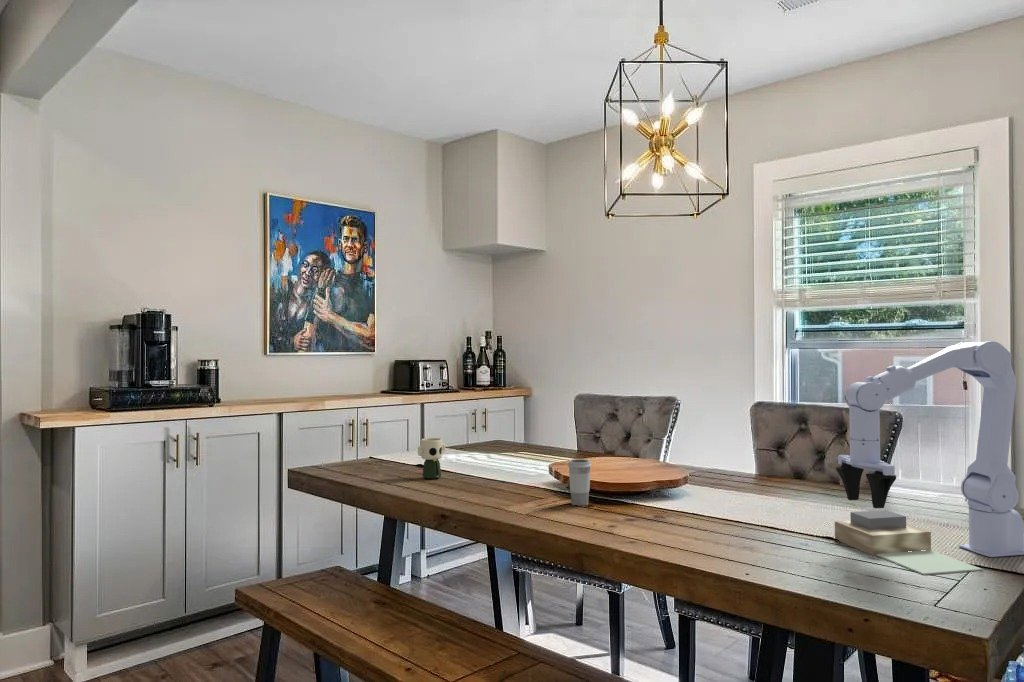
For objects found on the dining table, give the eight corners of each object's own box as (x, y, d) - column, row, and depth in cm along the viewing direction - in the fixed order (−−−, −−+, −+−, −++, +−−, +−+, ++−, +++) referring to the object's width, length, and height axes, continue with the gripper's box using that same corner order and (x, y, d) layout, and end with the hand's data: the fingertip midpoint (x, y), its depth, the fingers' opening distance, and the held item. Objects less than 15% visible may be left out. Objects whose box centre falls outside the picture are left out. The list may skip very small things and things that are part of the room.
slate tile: (886, 520, 155) (886, 510, 155) (906, 527, 149) (906, 516, 149) (850, 522, 154) (850, 512, 154) (869, 529, 148) (869, 518, 148)
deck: (889, 535, 158) (889, 518, 158) (931, 550, 146) (930, 531, 146) (834, 539, 155) (834, 521, 155) (872, 554, 143) (872, 535, 143)
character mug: (424, 482, 224) (424, 441, 224) (412, 479, 229) (411, 439, 229) (451, 477, 231) (451, 438, 231) (438, 474, 237) (438, 436, 237)
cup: (588, 507, 187) (588, 463, 187) (564, 506, 189) (564, 462, 189) (594, 502, 194) (594, 459, 194) (571, 500, 196) (570, 458, 196)
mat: (930, 551, 145) (930, 550, 145) (982, 570, 133) (982, 568, 133) (876, 555, 143) (876, 554, 143) (923, 575, 131) (923, 573, 131)
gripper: (825, 435, 152) (826, 497, 152) (872, 444, 138) (873, 512, 138) (853, 434, 154) (854, 495, 154) (903, 443, 140) (904, 510, 140)
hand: (865, 503), depth 146 cm, fingers open, 7 cm apart
